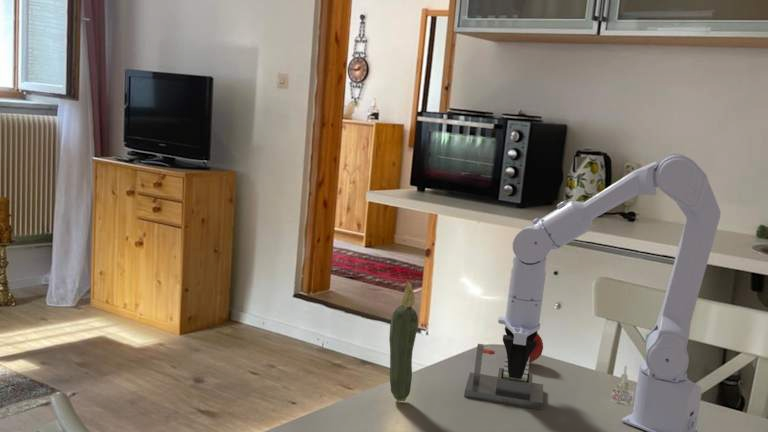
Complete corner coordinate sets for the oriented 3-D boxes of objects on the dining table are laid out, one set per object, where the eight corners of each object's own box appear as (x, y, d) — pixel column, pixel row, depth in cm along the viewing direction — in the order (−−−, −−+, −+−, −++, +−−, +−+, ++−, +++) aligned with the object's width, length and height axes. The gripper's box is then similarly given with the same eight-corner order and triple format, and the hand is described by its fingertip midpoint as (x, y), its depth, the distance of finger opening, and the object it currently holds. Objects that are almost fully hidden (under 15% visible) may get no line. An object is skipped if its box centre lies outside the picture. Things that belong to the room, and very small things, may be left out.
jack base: (542, 390, 131) (548, 347, 130) (541, 410, 122) (548, 363, 121) (469, 378, 134) (474, 336, 132) (464, 396, 125) (469, 351, 124)
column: (525, 385, 129) (530, 354, 128) (525, 394, 125) (529, 362, 124) (502, 381, 130) (506, 350, 129) (501, 390, 126) (505, 358, 125)
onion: (508, 365, 143) (513, 325, 142) (512, 357, 148) (517, 318, 147) (539, 371, 141) (544, 331, 140) (541, 362, 147) (546, 323, 145)
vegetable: (406, 410, 117) (419, 287, 114) (380, 405, 118) (392, 284, 115) (411, 400, 121) (423, 281, 118) (385, 395, 122) (397, 278, 119)
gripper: (504, 284, 133) (495, 356, 135) (499, 303, 119) (489, 383, 121) (543, 289, 132) (534, 362, 134) (543, 309, 117) (532, 390, 119)
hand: (515, 373), depth 127 cm, fingers closed on column, 4 cm apart
